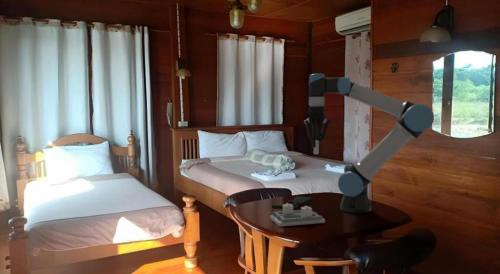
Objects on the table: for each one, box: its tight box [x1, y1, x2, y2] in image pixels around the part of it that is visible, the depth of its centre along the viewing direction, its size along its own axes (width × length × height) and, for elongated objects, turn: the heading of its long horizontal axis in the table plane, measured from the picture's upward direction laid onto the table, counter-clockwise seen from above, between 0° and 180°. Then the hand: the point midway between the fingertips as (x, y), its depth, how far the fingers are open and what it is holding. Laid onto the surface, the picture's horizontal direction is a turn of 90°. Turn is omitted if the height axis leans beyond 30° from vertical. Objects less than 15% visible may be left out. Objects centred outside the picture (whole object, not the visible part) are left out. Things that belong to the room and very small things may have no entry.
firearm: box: [271, 195, 314, 210], centre depth 221 cm, size 28×2×15 cm
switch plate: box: [269, 209, 326, 227], centre depth 188 cm, size 22×13×3 cm, turn 105°
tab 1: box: [282, 202, 294, 214], centre depth 190 cm, size 4×3×6 cm
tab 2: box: [300, 205, 313, 217], centre depth 185 cm, size 4×3×6 cm
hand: (316, 153), depth 200 cm, fingers closed
